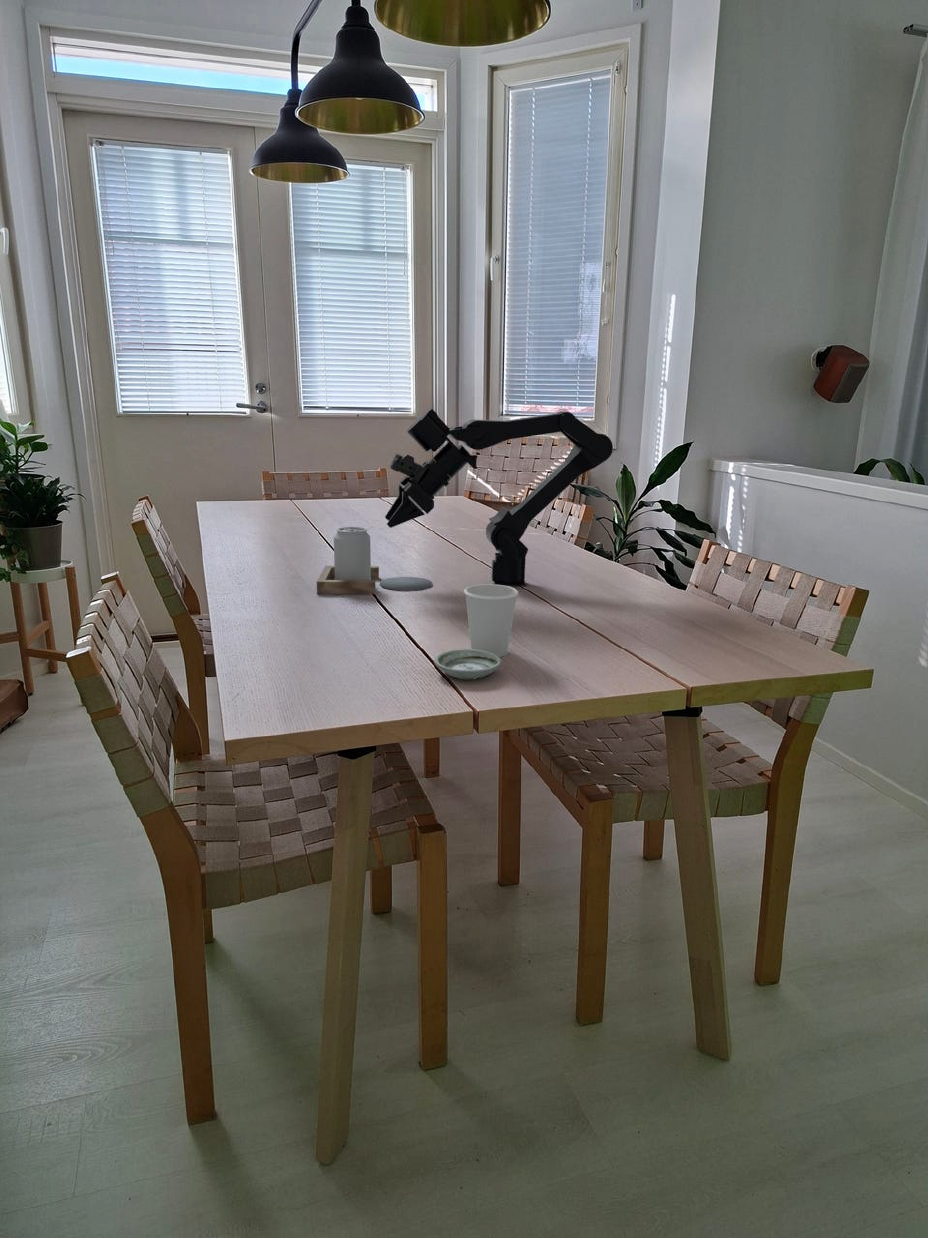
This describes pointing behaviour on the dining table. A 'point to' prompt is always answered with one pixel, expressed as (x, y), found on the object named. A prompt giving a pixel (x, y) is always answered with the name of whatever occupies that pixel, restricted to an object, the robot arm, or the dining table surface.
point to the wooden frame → (345, 583)
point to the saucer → (467, 663)
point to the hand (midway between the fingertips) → (387, 522)
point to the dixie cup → (490, 616)
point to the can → (352, 554)
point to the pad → (405, 583)
